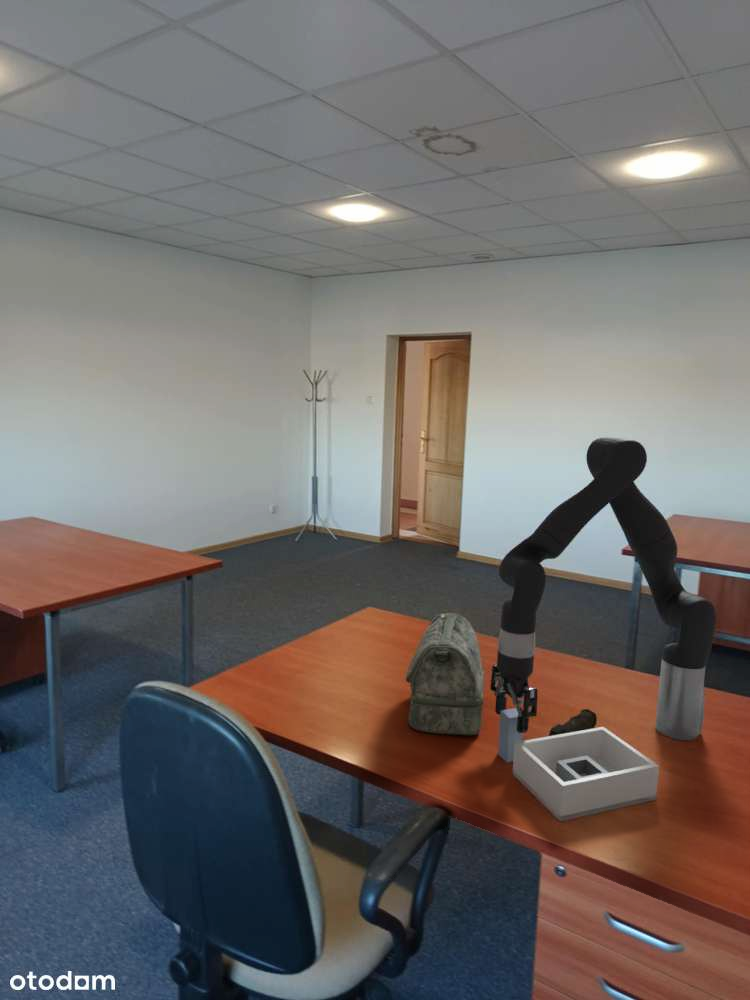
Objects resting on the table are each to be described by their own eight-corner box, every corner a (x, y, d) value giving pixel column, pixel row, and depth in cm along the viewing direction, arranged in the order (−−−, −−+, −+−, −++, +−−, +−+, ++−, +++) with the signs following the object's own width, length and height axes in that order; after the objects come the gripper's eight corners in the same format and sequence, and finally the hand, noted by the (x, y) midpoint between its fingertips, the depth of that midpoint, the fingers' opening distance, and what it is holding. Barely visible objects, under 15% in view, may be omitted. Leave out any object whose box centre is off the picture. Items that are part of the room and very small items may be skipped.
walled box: (600, 757, 140) (603, 726, 139) (655, 799, 125) (659, 765, 124) (512, 774, 133) (514, 742, 132) (560, 821, 118) (562, 786, 117)
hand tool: (581, 721, 157) (582, 703, 156) (596, 727, 154) (598, 709, 153) (536, 748, 144) (537, 728, 143) (552, 755, 141) (553, 735, 140)
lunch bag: (416, 685, 174) (419, 606, 170) (484, 693, 170) (489, 613, 167) (400, 732, 148) (403, 641, 145) (480, 743, 145) (485, 649, 142)
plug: (512, 751, 141) (515, 708, 140) (521, 759, 138) (524, 715, 137) (497, 754, 140) (500, 710, 139) (506, 762, 137) (509, 718, 135)
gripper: (551, 660, 130) (545, 736, 133) (513, 636, 144) (508, 705, 146) (519, 664, 128) (513, 741, 130) (483, 639, 141) (478, 709, 143)
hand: (510, 722), depth 138 cm, fingers open, 8 cm apart
